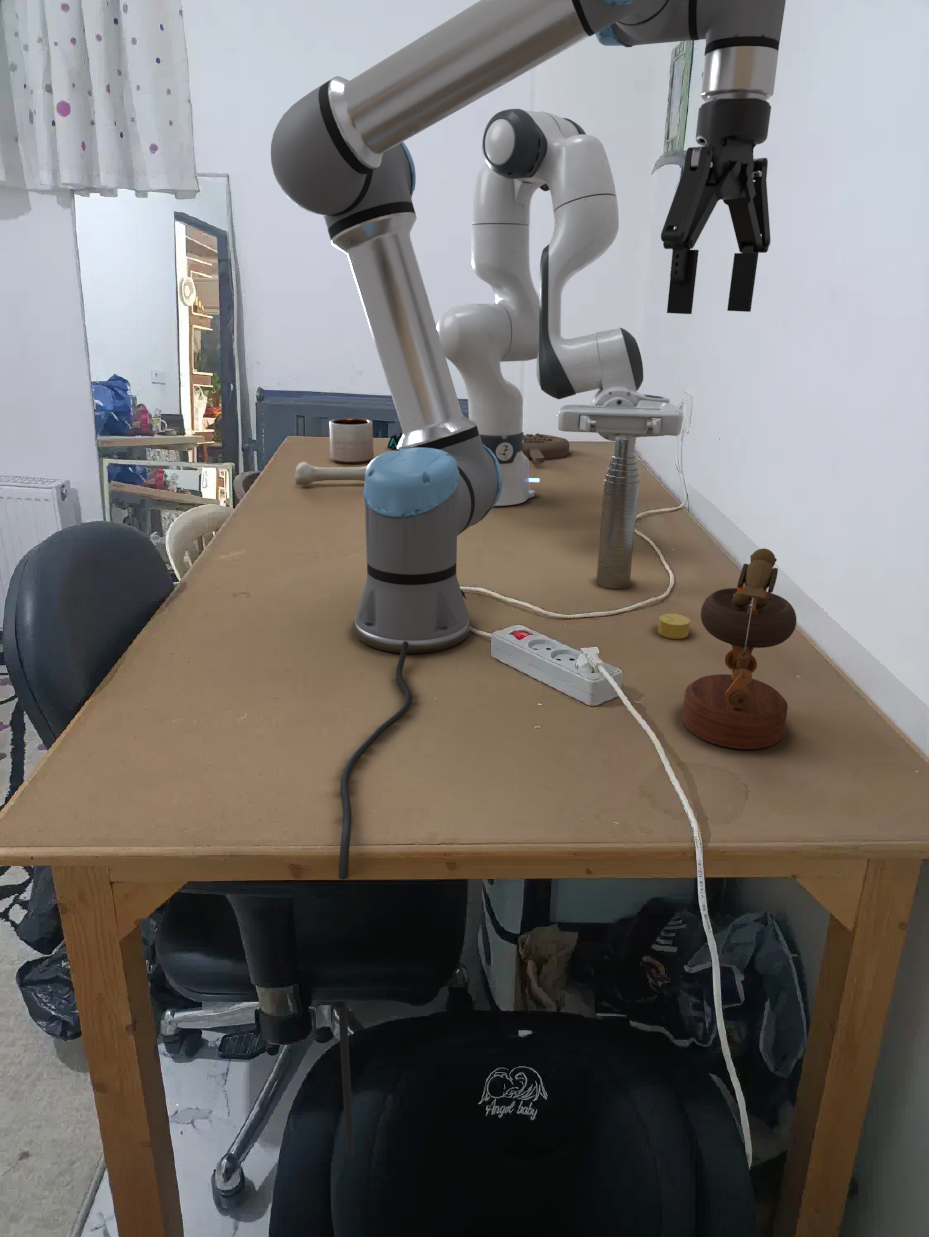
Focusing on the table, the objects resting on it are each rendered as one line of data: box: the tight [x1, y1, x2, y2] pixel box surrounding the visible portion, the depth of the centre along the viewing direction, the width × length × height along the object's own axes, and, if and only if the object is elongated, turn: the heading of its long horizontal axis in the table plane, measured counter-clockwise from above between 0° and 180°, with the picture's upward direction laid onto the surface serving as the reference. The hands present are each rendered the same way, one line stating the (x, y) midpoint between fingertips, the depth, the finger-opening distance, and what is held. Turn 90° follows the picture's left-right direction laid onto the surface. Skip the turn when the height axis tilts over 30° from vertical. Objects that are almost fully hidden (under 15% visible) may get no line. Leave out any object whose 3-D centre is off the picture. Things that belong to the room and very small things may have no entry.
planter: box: [328, 417, 375, 464], centre depth 212 cm, size 11×11×10 cm
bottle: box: [596, 436, 641, 590], centre depth 128 cm, size 5×5×23 cm
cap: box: [657, 613, 691, 640], centre depth 114 cm, size 4×4×2 cm
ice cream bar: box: [522, 433, 570, 464], centre depth 220 cm, size 21×28×4 cm
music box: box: [681, 548, 797, 750], centre depth 88 cm, size 15×11×20 cm
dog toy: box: [294, 461, 368, 486], centre depth 188 cm, size 20×6×5 cm, turn 99°
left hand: (710, 312), depth 99 cm, fingers open, 13 cm apart
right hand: (621, 427), depth 134 cm, fingers open, 8 cm apart
